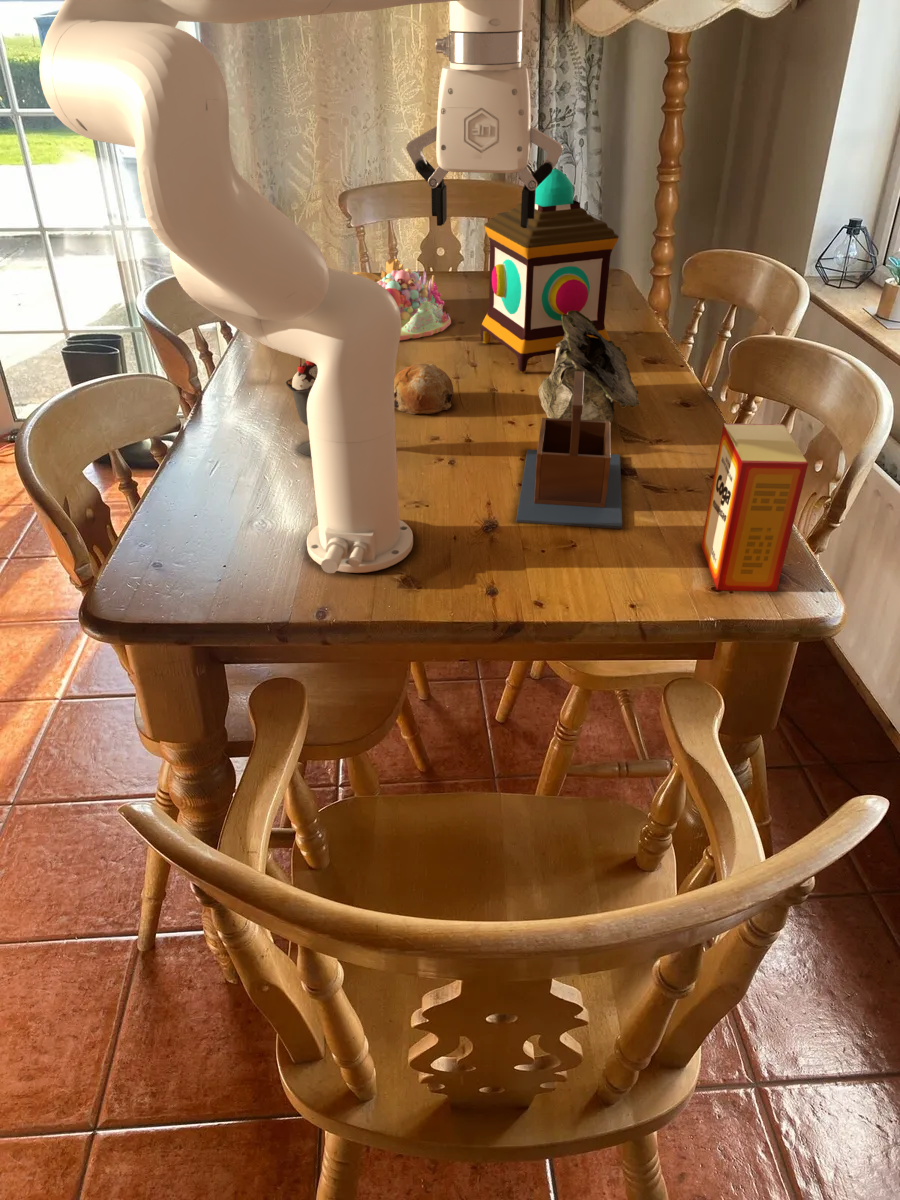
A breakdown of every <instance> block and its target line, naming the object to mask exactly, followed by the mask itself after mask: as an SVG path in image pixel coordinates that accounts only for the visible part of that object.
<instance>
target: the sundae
mask: <svg viewBox="0 0 900 1200" xmlns="http://www.w3.org/2000/svg"><path fill="white" fill-rule="evenodd" d="M302 361H303V358H300V357H299V366H297V368H296V369H297V372H296V373H295V374H294V375H293V377H292V378H290V379H288V380H285V385H286V386H287V388H288V389H289V390H290V391H291V392H292V395H293V399H294V403H295V408H296V411H297V415H298V417H299V420H300V421H301V422H302V423H303V424H304V425H305V426H307V427H308V421H307V401H308V396H309V393H310V391H311V388H312V386H313V384H314V382H315V380H316V377H317V374H318V368H317V365H316V364H315V363H313V362H310V361H307V360H305V362H303V363H302ZM298 450H299V452H300V453H301V454H302V455H304V456H307V457H311V447H310V441H307V442H304V443H303V444H301V445H300V446H299V449H298Z"/></svg>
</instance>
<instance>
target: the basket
mask: <svg viewBox="0 0 900 1200" xmlns="http://www.w3.org/2000/svg"><path fill="white" fill-rule="evenodd" d="M583 389H584V372H582V371H575V377H574V391H573V405H572V419H559V418H548V417H541V421H540V427H539V436H538V442H537V443H538V444H537V449H536V450H537V461H536V479H535V497H534V503H537V504H553V505H569V506H585V507H601V508H605V505H606V496H607V487H608V477H609V468H610V459H611V454H612V453H611V422H610V421H597V420H581V415H582V408H583Z"/></svg>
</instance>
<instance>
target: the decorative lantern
mask: <svg viewBox="0 0 900 1200" xmlns="http://www.w3.org/2000/svg"><path fill="white" fill-rule="evenodd" d="M484 230H485V233H486V235H487V237H488V240H489V275H488V276H489V279H488V281H489V285H488V308H487V309H488V310H487V312H486V315H485V316H484V319H483V320H482V323H481V325H480V339H481V342H482V343H483V344H485V345H487V344H488V343H490V341H491V337H492V338H494V339H495V340H496V341H498V342H499V343H500V344H502V345H503V346H504V347H505V348H507V349H508V350H509V351H511V352H512V353H513V354H514V355H515V356H516V358H517V368H518V371H519V372H520V373H521V374H524V373H525V372H526V370H527V366H528V364H529V363H528V362H529V360H530V359H531V358H533V357H539V356H545V355H546V356H547V355H552V354H556V348H557V346H556V345H557V344H558V343H559V342H560V341H562V340H563V337H564V336H565V335H564V333H565V332H564V329H563V326H562V323H561V322H562V319H561V318H562V317H561V316H562V315H563V314H565V315H567V313H568V312H570V311H575V310H576V311H579V312H580V313H581V314H583V315H584V316H585V317H587V318H588V319H589V320H590V321H593V323H594V324H595V328H596V329H597V330H598V333H599V334H600V335H602V337H603V338H605V339H606V340H608V342H609V341H611V339H610V336H609V334H608V332H607V329H606V325H605V317H606V316H605V315H606V306H607V295H608V287H609V286H608V285H609V274H610V263H611V256H612V252H613V249H614V248H615V246H616V245H617V243H618V241H619V238H620V237H619V235H618V234H616V232H615V231H614V229H613V228H611V227H609V226H608V223H607V222H605V221H603V220H601V219H598V218H596V217H594V216H593V215H592V214H589V213H588V211H587V209H585V208H583V207H581V202H579V201H577V200H575V199H574V186H573V183H572V181H571V180H570V178H568V177H567V175H566V174H565V173H564V172H563V171H562V170H560V169H558V168H553V170H552V172H551V174H550V175H549V176H548V177H547V178H546V179H545V180H544V181H543V182H542V183H541V184H540V185H539V186H538V187H537V188H536V194H535V215H534V219H529V222H528V226H527V228H522V227H521V203H518V204H516V206H515V207H514V208H510V209H509V211H506V212H497V213H496V215H495V216H494V217H491V218H489V220H488V221H487V222H485V223H484ZM587 336H589V337H594V338H597V337H595V336H591V335H587Z"/></svg>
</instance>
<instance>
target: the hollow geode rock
mask: <svg viewBox="0 0 900 1200" xmlns="http://www.w3.org/2000/svg"><path fill="white" fill-rule="evenodd" d="M561 317H562V318H561V319H562V322H561V323H562V326H563V329H564V332H565V333H564V335H565V336H564V337H563V340H562V341H560V342H559V343H558V344H557V345H556V346H557V348H556V353H555V356H554V357H555V358H554V364H553V369H552V371H551V373H550V374H549V376H547V377H546V378H543V379H542V381H541V384H540V385H539V387H538V391H537V393H538V397H539V401H540V406H541V407H542V410H543V411H544V412H545V415H546V418H559V419H572V405H573V391H574V377H575V371H582V372H584V389H583V408H582V415H581V420H597V421H610V423H612V422H613V420H614V418H615V408H614V407H615V402H616V403H618V404H619V406H620V408H623V409H625V408H626V407H628V406H629V408H636V407H637V406H639V405H640V400H639V398H638V397H639V391H638V389H636V386H635V384H634V382H633V381H632V375H631V371H630V369H629V367H628V365H627V362H628V357H627V355H626V353H624V351H623V350H622V349H621V347H620V346H616V345H615V343H614V341H612V340H610V341H609V342H608V340H606V339H605V338H603V337H602V335H600V334H599V333H598V330H597V329H596V328H595V324H594V323H593V321H590V320H589V319H588V318H587V317H585V316H584V315H583V314H581V313H580V312H579V311H576V310H575V311H570V312H568V313H567V315H565V314H563V315H562V316H561ZM587 335H591V336H595V337H597V338H594V337H589V336H587Z"/></svg>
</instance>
